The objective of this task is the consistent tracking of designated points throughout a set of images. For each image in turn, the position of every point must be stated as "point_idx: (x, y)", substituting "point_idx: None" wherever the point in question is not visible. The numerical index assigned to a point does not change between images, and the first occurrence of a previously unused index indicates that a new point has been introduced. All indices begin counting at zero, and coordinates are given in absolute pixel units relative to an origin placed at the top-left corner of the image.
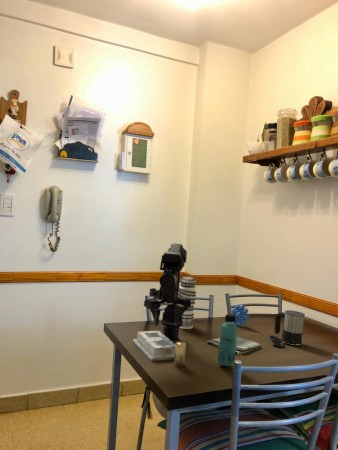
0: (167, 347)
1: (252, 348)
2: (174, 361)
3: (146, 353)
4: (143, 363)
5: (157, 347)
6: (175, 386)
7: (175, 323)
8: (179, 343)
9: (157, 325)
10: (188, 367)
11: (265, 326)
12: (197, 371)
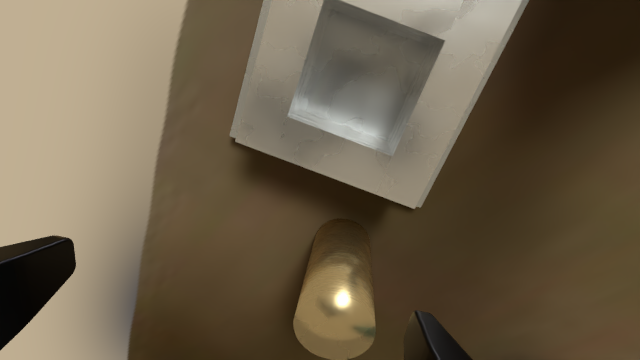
0: (331, 177)
1: None
2: (315, 239)
3: (251, 51)
4: (180, 134)
5: (261, 142)
6: (179, 356)
7: (407, 327)
8: (320, 325)
9: (66, 279)
10: None
11: None
12: None
